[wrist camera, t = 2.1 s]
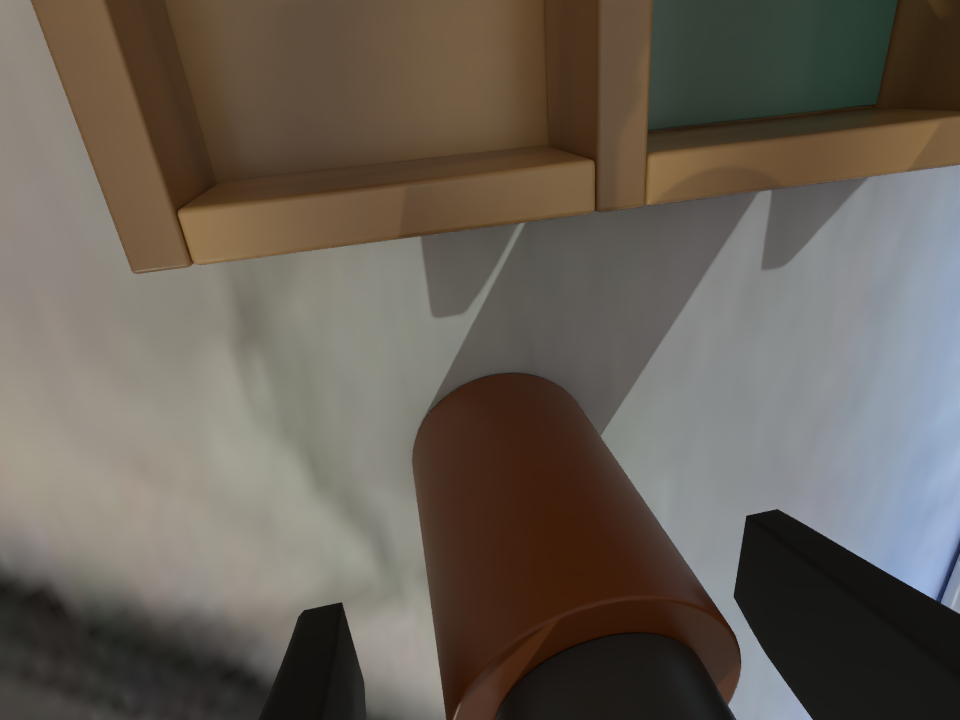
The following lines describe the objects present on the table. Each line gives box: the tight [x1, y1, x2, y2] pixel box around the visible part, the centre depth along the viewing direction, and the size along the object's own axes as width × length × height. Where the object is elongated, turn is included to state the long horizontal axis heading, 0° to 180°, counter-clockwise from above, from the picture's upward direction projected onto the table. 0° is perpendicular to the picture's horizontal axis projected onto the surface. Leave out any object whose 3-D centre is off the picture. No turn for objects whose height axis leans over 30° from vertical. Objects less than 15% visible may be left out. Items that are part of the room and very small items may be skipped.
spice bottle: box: [412, 374, 741, 720], centre depth 10 cm, size 4×4×8 cm
